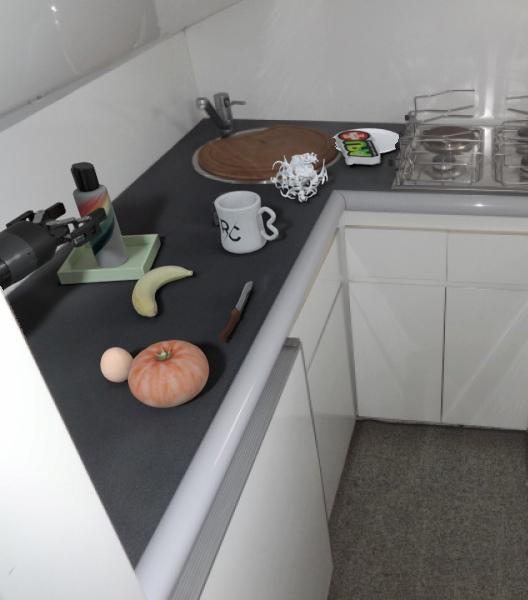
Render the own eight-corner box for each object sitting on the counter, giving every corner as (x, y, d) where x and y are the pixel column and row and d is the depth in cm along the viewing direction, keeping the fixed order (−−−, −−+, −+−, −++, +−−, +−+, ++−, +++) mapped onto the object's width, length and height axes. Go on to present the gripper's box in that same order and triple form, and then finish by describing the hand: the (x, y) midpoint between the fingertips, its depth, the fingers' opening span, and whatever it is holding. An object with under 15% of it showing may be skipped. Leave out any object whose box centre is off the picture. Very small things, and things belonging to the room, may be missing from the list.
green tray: (61, 284, 108) (56, 272, 107) (84, 248, 119) (80, 238, 117) (146, 278, 110) (142, 267, 108) (160, 244, 120) (158, 233, 119)
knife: (249, 286, 108) (247, 272, 106) (257, 286, 108) (255, 272, 106) (218, 350, 93) (215, 335, 91) (227, 350, 93) (224, 335, 91)
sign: (382, 157, 150) (344, 159, 148) (382, 163, 151) (344, 166, 149) (368, 129, 167) (334, 131, 166) (368, 135, 169) (334, 137, 167)
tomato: (119, 400, 83) (103, 358, 79) (180, 359, 91) (169, 318, 86) (168, 432, 78) (154, 389, 74) (229, 385, 86) (219, 344, 81)
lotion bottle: (97, 257, 115) (63, 161, 103) (127, 251, 117) (98, 156, 105) (97, 271, 111) (62, 172, 99) (129, 265, 113) (98, 167, 101)
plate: (329, 158, 158) (329, 154, 157) (331, 132, 175) (331, 128, 174) (406, 156, 159) (406, 152, 158) (400, 131, 176) (400, 127, 175)
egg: (128, 365, 90) (118, 336, 86) (144, 377, 87) (134, 348, 84) (101, 380, 87) (89, 350, 84) (116, 393, 85) (104, 364, 81)
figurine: (335, 152, 135) (334, 202, 138) (298, 146, 144) (298, 192, 148) (289, 154, 126) (290, 206, 130) (253, 146, 136) (254, 196, 140)
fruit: (117, 318, 100) (112, 302, 98) (159, 271, 112) (155, 256, 110) (157, 322, 99) (152, 306, 97) (195, 274, 111) (191, 259, 109)
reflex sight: (237, 203, 136) (232, 183, 133) (233, 222, 128) (228, 201, 125) (220, 205, 136) (215, 185, 133) (215, 224, 127) (209, 203, 124)
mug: (214, 252, 118) (204, 207, 112) (235, 231, 125) (227, 188, 119) (271, 259, 115) (264, 214, 110) (289, 238, 123) (283, 194, 117)
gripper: (44, 238, 88) (112, 194, 101) (-34, 227, 91) (42, 186, 104) (60, 279, 93) (123, 232, 105) (-14, 268, 95) (56, 223, 108)
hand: (83, 209), depth 105 cm, fingers open, 8 cm apart
